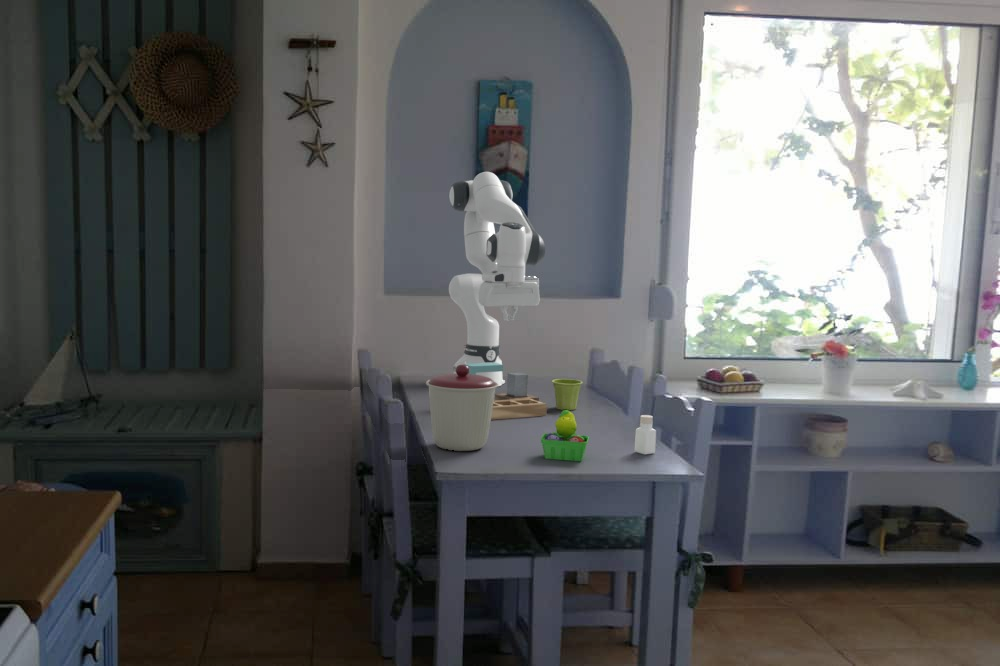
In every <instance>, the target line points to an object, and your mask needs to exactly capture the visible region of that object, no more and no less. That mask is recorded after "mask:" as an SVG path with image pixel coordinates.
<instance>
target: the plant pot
mask: <svg viewBox="0 0 1000 666" xmlns="http://www.w3.org/2000/svg"><path fill="white" fill-rule="evenodd" d="M551 383H552V385H553V387H554V395H555V406H556V409H557V410H560V411H564V410H568V411H574V410H576V408H577V405H578V399H579V395H580V394H579V393H580V389H581V387H582V386H581V385H582V384H583V381H582V380H578V379H573V378H572V379H571V378H556V379H553V380H551Z"/></svg>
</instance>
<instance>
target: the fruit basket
mask: <svg viewBox="0 0 1000 666" xmlns="http://www.w3.org/2000/svg"><path fill="white" fill-rule="evenodd" d="M554 424H555V428H556V432H552V433H551V432H547V433H543V434H542V436H541V437H540V443H541V444H542V449H543V455H544V459H546V460H556V461H557V460H559V461H561V460H562V461H574V462H582V461H583V458H584V455H585V452H586V448H587V445H588V443H589V440H590V436H588V435H581V434H576V431H577V427H578V426H577V422H576V417H575V415H574V413H572V412H571V410H567V409H564V410H561V413H560V415H559V416H558V419H556V422H555V423H554Z"/></svg>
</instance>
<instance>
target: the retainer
mask: <svg viewBox="0 0 1000 666" xmlns="http://www.w3.org/2000/svg"><path fill="white" fill-rule="evenodd" d="M464 365H467V366H468V367H469V369H470V371H469V374H474V375H476V373H480V372H499V371H502V372H504V371H503V370H504V364H503V363H502V364H498V363H475V364H464Z"/></svg>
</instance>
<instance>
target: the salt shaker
mask: <svg viewBox="0 0 1000 666" xmlns="http://www.w3.org/2000/svg"><path fill="white" fill-rule="evenodd" d="M639 418H640V419H639V420H640V421H639V423H640V424H639V427H637V428H636V429H635V439H634V453H638V454H641V455H652V454H655V452H656V444H657V443H656V440H657V430H656V429H654V428H653V423H654V421H653V419H654V417H653V416H652V415H649V414H641V415H640V417H639Z"/></svg>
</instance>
